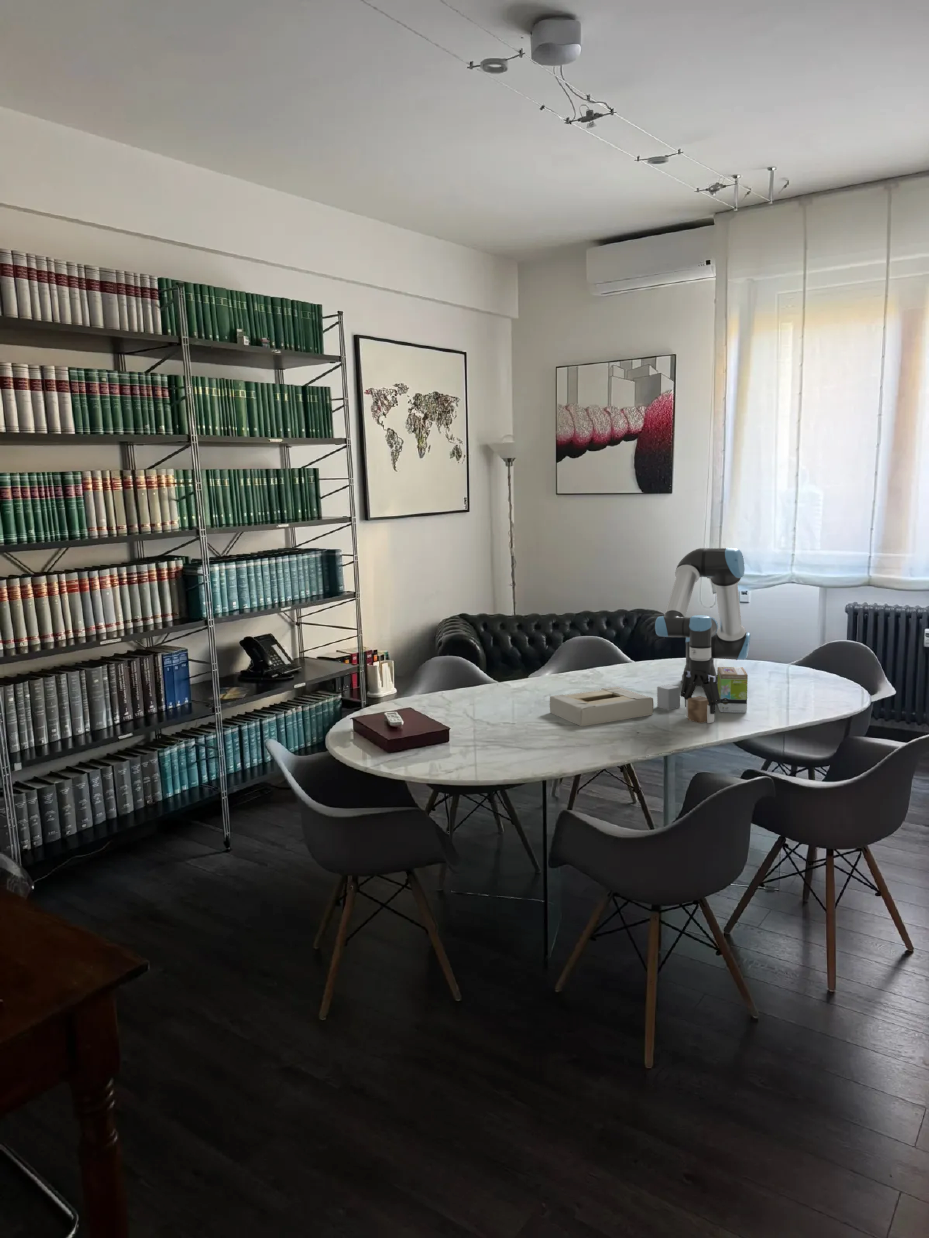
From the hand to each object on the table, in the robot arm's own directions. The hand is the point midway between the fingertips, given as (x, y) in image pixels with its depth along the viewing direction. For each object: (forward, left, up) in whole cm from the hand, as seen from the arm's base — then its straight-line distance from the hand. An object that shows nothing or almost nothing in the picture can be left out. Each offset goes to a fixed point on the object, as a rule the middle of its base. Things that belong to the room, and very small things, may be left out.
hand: (699, 719), depth 310 cm
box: (-30, -21, -1) cm, 37 cm away
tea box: (-5, +22, 0) cm, 23 cm away
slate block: (-21, +5, 0) cm, 22 cm away
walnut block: (0, 0, 0) cm, 0 cm away
